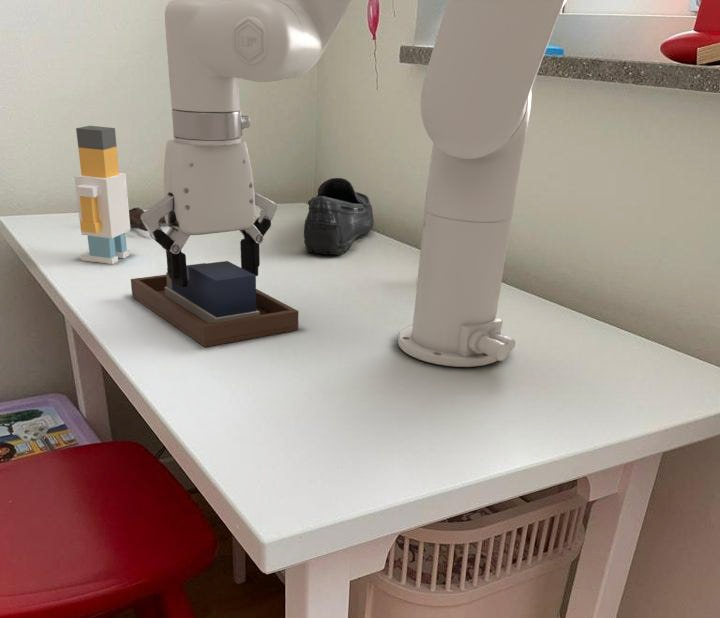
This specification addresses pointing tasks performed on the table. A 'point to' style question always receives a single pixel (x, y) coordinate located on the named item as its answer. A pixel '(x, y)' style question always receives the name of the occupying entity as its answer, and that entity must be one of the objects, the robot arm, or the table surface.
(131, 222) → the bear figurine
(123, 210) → the character figure
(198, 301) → the blue stair step block
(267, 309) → the tray
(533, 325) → the table surface
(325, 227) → the loafer
